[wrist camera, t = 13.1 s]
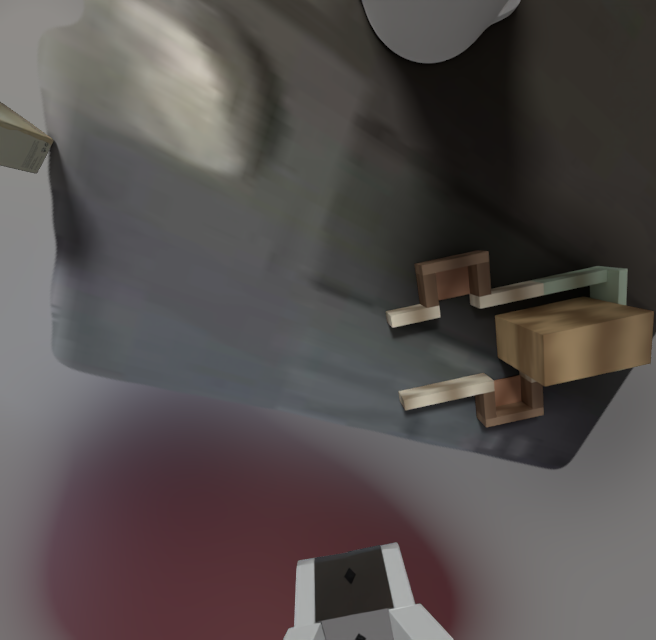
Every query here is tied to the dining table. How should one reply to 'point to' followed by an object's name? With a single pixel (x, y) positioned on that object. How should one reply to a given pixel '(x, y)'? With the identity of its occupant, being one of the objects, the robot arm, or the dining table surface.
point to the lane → (474, 279)
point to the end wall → (611, 286)
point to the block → (574, 339)
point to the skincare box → (21, 142)
